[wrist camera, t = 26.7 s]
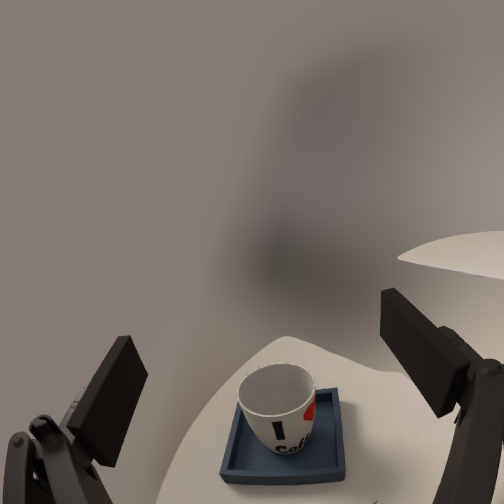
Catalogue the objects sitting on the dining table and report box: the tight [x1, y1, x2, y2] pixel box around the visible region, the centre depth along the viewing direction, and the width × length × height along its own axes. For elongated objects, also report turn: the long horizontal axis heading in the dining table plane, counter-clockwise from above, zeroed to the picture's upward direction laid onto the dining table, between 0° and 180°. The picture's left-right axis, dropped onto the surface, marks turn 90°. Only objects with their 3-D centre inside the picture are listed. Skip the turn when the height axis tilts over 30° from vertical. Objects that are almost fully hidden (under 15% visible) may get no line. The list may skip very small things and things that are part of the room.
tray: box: [219, 388, 346, 485], centre depth 29 cm, size 14×14×3 cm
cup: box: [237, 363, 316, 455], centre depth 28 cm, size 8×8×10 cm
